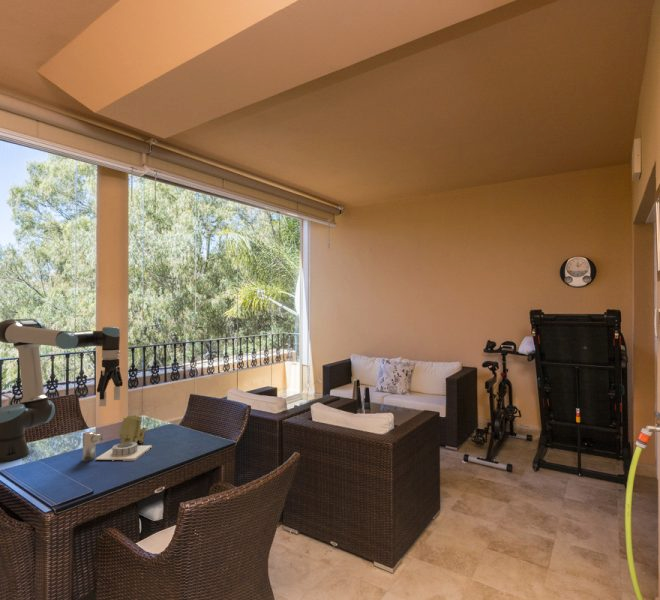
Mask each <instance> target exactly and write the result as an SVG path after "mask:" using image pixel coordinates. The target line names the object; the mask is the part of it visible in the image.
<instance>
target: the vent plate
mask: <svg viewBox="0 0 660 600" xmlns="http://www.w3.org/2000/svg"><path fill="white" fill-rule="evenodd" d="M150 448H151V449H152V448H153V445H138V442H124V443H122V442H120V443H117V444H114V445H113V446H112V448H110V449H109V450H106V451H105V452H104V453H102V454H100V455H99V456H97V457H95V459H94V461H95V460H112V462H115V461H114V460H123V462H125V461H128V462H130V461H131V462H134V461H137V459H139V458H141V457H142V456H143V455H145V454H146V453H147V452H148V451H150V450H151V449H150ZM145 452H146V453H145Z"/></svg>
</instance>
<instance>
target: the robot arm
mask: <svg viewBox="0 0 660 600" xmlns="http://www.w3.org/2000/svg"><path fill="white" fill-rule="evenodd" d="M120 331H121V329H120V327H118V326H103V327H102V330H91V329H90V330H82V331H66V330H58V329H50V328H47V327H46V325H45V324H44V323H43V322H42V321H41V320H39V319H36V318H18V319H15V318H14V319H13V318H11V319H5V320H2V321H0V342H1V343H4V344H13V348H14V349H16V350H17V352H18V362H19V371H20V382H21V391H22V392H21V393H22V398H21V400H20V401H19V403H12V404H8V405H4V406H1V407H0V463H4V462H5V463H6V462H11V461H15V460H19V459H22V458H25V457H26V456H29V453H30V449H29V447H28V444H27V441H26V438H25V431H27V430H29V429H31V428H35V427H38V426H43V425H44V424H47V423H49V422H50V421H51V420H52V419H53V417H54V415H55V412H56V408H55V407H56V406H55V404H54V402H53V401H52V400H49V396H47V395H46V394H45V392H44V383H43V381H44V380H43V374H42V363H41V355H40V353H41V352H40V347H41V346H42V345H43V346H50V347H58V348H59V349H61V350H71V349H78V348H88V347H101V359H102V360H101V367H102V368H104V370H101V371H100V375H99V376H100V377H99V381H98V384H97V387H96V393H99V407H106V406H107V391H106V390H107V388H108V385H109V384H110V383H109V382H110V381H112V382H113V385H114V386H113V401H120V400H121V387H122V386H123V385H124V383H123V378H122V374H121V367H120V353H121V351H120V343H121V342H120V341H121V340H120V339H121V334H120V333H121V332H120Z"/></svg>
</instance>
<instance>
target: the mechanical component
mask: <svg viewBox="0 0 660 600" xmlns="http://www.w3.org/2000/svg"><path fill="white" fill-rule="evenodd" d="M142 420H143V417H142V416H140V415H139V416H137V415H135V414H134V415H128V416H126V417H124V418H123V420H122V424H121V428H120V431H119V438H121V439H120V443H124V442H136V443H139V444H143V443H144V442H145V441H144V439H145V433H146V432H147V427H142V426H141V424H142ZM138 441H139V442H138ZM142 442H143V443H142Z"/></svg>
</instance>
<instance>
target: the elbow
mask: <svg viewBox="0 0 660 600" xmlns="http://www.w3.org/2000/svg"><path fill="white" fill-rule="evenodd" d="M102 441H103V434H102V433H99V434H98V433H96V431H95V430H94V431H91V430H90V431H85V432H84V433H82V462H90V461H89V460H92V459H94V460H95V458H96V443H99V444H100V443H102ZM92 461H93V460H92Z"/></svg>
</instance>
